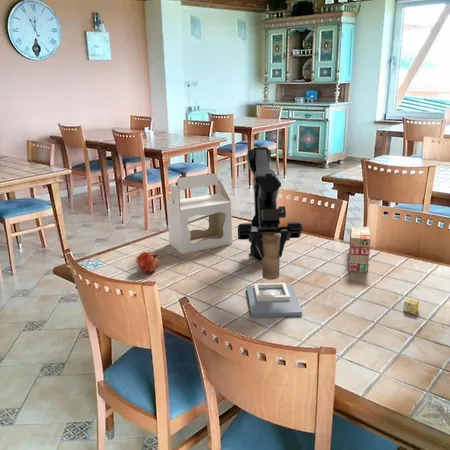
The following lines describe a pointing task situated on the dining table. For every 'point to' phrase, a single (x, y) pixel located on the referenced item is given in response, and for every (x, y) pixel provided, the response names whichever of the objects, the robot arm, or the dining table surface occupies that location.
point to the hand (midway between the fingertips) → (271, 257)
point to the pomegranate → (147, 262)
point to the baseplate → (273, 300)
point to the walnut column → (270, 255)
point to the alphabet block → (411, 305)
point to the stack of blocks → (359, 248)
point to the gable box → (204, 205)
